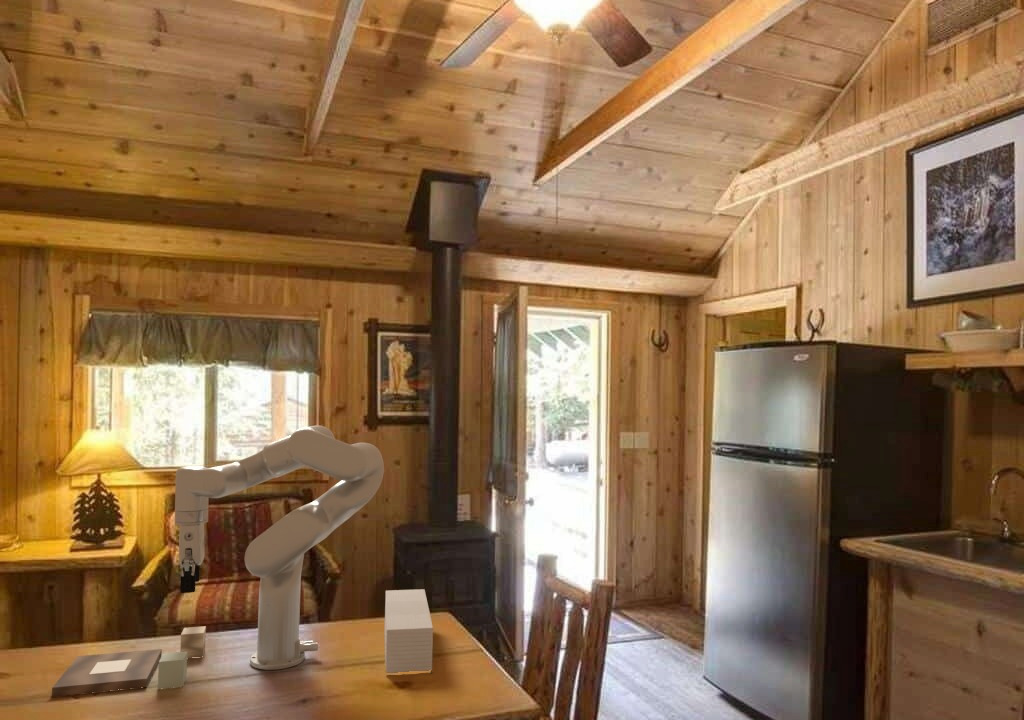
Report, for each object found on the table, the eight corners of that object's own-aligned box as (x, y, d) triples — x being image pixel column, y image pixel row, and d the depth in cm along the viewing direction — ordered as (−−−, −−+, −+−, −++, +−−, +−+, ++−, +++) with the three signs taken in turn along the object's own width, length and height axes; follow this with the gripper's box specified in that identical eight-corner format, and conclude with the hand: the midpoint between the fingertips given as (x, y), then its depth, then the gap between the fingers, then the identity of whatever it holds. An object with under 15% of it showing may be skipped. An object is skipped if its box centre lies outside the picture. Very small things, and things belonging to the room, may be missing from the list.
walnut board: (161, 657, 170) (161, 648, 170) (146, 687, 153) (146, 678, 153) (76, 664, 165) (77, 655, 165) (51, 697, 147) (52, 687, 147)
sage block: (186, 678, 158) (187, 651, 158) (182, 687, 153) (183, 659, 154) (161, 680, 157) (162, 653, 157) (157, 689, 152) (158, 661, 152)
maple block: (205, 650, 175) (205, 626, 175) (202, 657, 170) (203, 632, 171) (183, 652, 174) (184, 627, 174) (180, 659, 169) (181, 634, 169)
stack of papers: (431, 674, 163) (433, 627, 164) (385, 677, 161) (386, 629, 162) (423, 628, 195) (424, 589, 195) (384, 630, 193) (385, 590, 193)
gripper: (204, 522, 166) (203, 595, 165) (211, 510, 182) (209, 576, 181) (169, 523, 163) (168, 598, 162) (179, 511, 180) (178, 579, 179)
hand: (190, 586), depth 172 cm, fingers open, 9 cm apart
